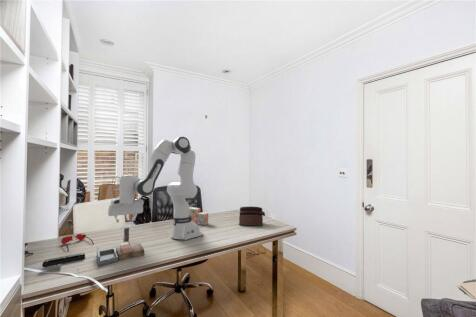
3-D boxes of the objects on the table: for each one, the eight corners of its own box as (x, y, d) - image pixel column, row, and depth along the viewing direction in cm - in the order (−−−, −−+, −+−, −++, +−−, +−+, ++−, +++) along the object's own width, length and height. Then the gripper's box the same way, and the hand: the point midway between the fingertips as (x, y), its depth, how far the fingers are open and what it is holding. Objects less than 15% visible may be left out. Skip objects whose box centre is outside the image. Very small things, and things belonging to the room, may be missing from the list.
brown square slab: (139, 248, 139) (139, 243, 139) (144, 254, 129) (144, 249, 129) (116, 252, 131) (116, 247, 131) (118, 260, 121) (118, 254, 121)
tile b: (129, 249, 129) (129, 245, 129) (130, 251, 126) (130, 247, 126) (121, 251, 127) (121, 246, 127) (122, 253, 123) (122, 248, 123)
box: (114, 252, 132) (114, 243, 132) (118, 261, 120) (118, 252, 120) (96, 255, 127) (96, 247, 127) (98, 266, 115) (98, 256, 115)
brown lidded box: (239, 221, 200) (240, 206, 200) (262, 222, 198) (262, 206, 198) (239, 225, 190) (239, 208, 190) (262, 225, 188) (262, 208, 188)
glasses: (85, 239, 155) (85, 232, 155) (94, 245, 144) (94, 237, 144) (60, 245, 144) (60, 237, 144) (67, 251, 134) (67, 243, 134)
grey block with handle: (126, 241, 151) (126, 224, 151) (130, 248, 139) (130, 230, 139) (122, 242, 149) (122, 225, 149) (125, 248, 138) (126, 230, 138)
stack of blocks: (208, 223, 193) (208, 209, 193) (203, 225, 188) (203, 210, 188) (190, 220, 205) (190, 206, 205) (185, 221, 200) (185, 207, 200)
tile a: (127, 246, 134) (127, 241, 134) (128, 248, 130) (128, 244, 131) (120, 247, 132) (120, 243, 132) (121, 249, 128) (121, 245, 128)
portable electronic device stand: (42, 268, 113) (42, 262, 113) (42, 266, 115) (42, 260, 115) (85, 259, 123) (85, 254, 123) (85, 257, 125) (85, 252, 125)
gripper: (142, 198, 153) (142, 218, 153) (108, 200, 141) (107, 222, 141) (144, 199, 148) (144, 220, 147) (109, 201, 136) (108, 224, 136)
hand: (125, 221), depth 144 cm, fingers open, 8 cm apart
